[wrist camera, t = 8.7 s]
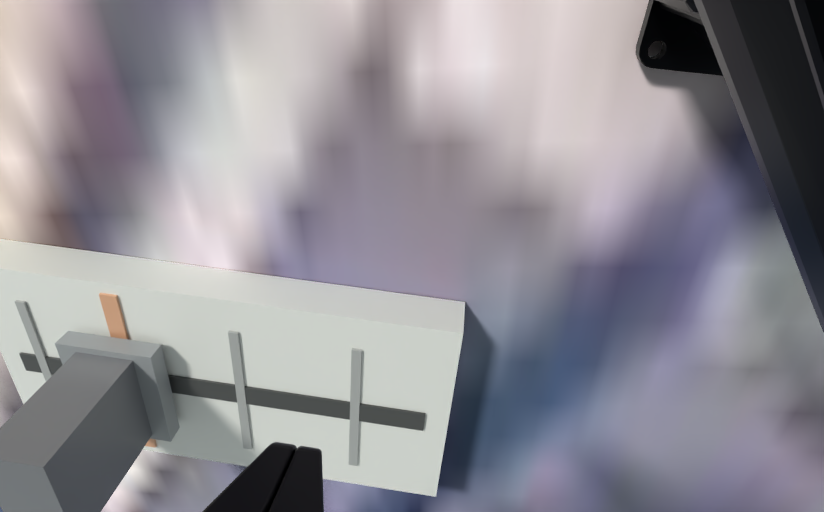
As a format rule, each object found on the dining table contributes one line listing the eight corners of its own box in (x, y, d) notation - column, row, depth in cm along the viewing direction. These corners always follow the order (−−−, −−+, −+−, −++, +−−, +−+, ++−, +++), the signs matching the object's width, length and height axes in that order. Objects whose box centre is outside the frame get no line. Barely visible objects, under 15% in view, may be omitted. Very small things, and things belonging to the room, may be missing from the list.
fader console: (465, 302, 21) (463, 335, 20) (439, 461, 27) (435, 499, 25) (1, 239, 23) (-41, 265, 21) (63, 402, 28) (34, 434, 26)
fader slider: (161, 344, 22) (64, 465, 17) (179, 427, 24) (101, 553, 19) (68, 330, 22) (-55, 445, 17) (96, 414, 24) (-3, 535, 19)
